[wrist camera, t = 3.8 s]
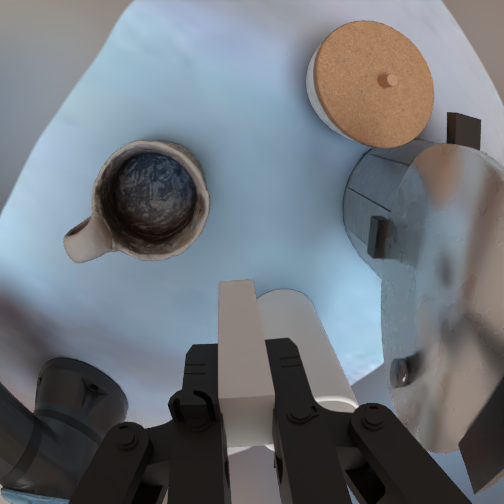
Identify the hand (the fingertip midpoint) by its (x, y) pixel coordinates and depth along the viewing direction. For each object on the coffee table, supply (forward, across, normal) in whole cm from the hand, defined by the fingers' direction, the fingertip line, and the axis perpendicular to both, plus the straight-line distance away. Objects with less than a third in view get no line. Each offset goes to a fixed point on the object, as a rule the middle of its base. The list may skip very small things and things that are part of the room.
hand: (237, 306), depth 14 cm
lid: (-2, +10, 0) cm, 10 cm away
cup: (+18, +5, -14) cm, 23 cm away
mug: (+18, -8, +2) cm, 19 cm away
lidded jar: (+18, +12, +12) cm, 24 cm away
